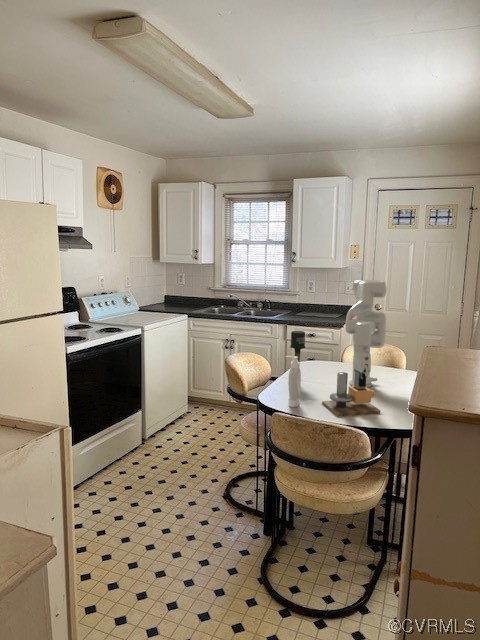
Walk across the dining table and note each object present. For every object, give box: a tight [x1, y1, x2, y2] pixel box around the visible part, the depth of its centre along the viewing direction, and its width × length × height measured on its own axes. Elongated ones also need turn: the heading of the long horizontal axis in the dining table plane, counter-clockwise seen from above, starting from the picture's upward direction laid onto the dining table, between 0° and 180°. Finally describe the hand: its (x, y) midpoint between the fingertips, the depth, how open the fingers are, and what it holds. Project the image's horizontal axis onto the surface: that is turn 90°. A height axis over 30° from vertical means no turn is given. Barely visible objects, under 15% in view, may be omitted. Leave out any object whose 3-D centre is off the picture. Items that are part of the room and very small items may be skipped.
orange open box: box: [347, 385, 376, 403], centre depth 231 cm, size 12×8×6 cm
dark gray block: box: [354, 370, 366, 390], centre depth 230 cm, size 4×4×10 cm
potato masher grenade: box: [289, 330, 306, 364], centre depth 270 cm, size 8×9×30 cm
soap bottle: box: [285, 355, 302, 408], centre depth 234 cm, size 13×8×24 cm, turn 159°
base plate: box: [321, 400, 381, 418], centre depth 231 cm, size 22×18×2 cm
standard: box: [329, 371, 353, 408], centre depth 228 cm, size 11×11×16 cm
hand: (360, 384), depth 230 cm, fingers closed on dark gray block, 4 cm apart
